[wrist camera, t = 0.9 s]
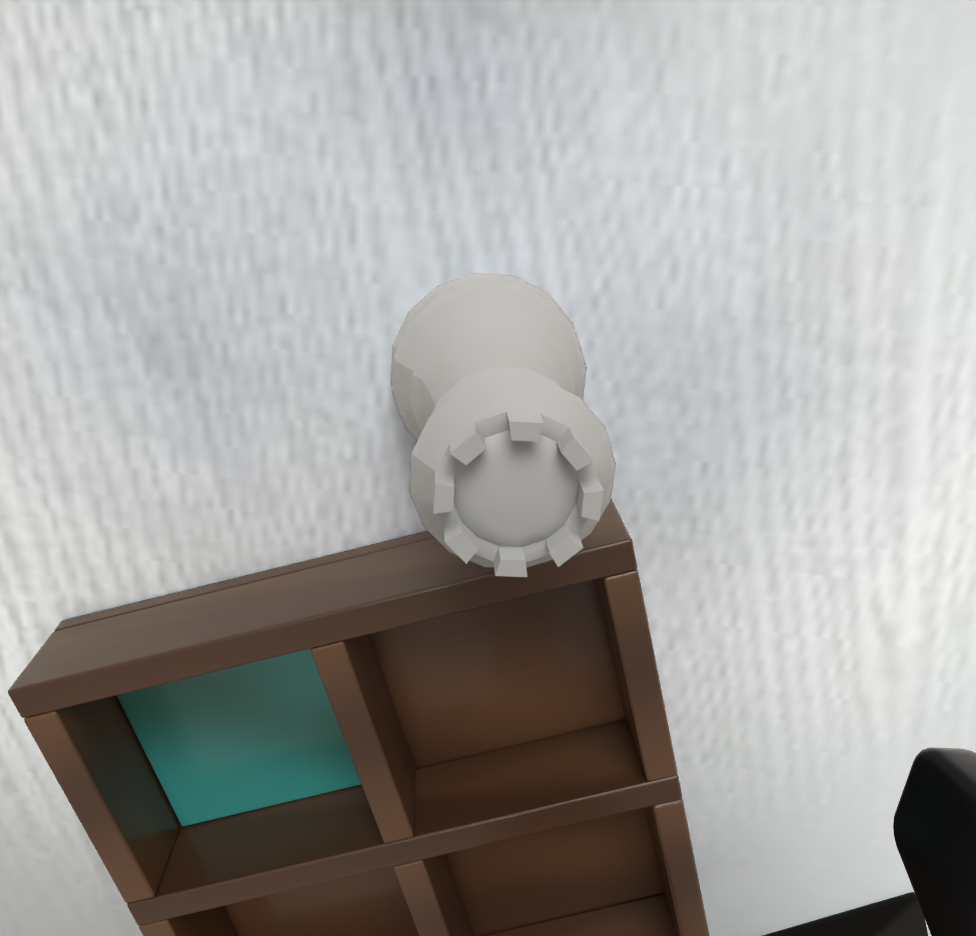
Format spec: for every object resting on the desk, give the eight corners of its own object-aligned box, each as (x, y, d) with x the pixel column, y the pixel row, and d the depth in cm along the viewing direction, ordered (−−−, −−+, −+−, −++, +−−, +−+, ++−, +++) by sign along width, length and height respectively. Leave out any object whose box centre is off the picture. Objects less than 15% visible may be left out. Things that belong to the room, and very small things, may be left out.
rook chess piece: (371, 429, 20) (336, 600, 13) (416, 246, 19) (405, 316, 11) (548, 472, 21) (612, 657, 13) (604, 297, 19) (713, 397, 12)
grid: (688, 891, 26) (718, 980, 24) (250, 992, 27) (229, 1091, 24) (606, 486, 21) (632, 539, 18) (60, 620, 21) (5, 691, 19)
